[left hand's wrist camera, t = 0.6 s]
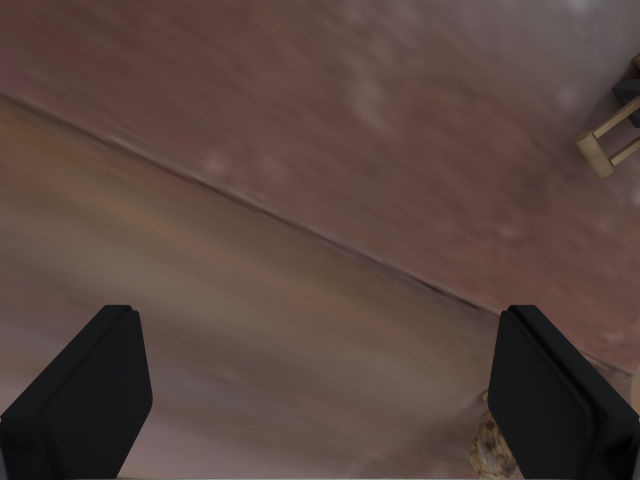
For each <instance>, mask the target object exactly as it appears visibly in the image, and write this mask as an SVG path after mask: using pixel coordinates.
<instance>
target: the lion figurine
mask: <svg viewBox="0 0 640 480" xmlns="http://www.w3.org/2000/svg"><path fill="white" fill-rule="evenodd" d="M487 397H488V392H485V393H484V394H483V395H482V398H483V401H485V402H488V400H487ZM487 418H488V419H489V421H488V422H484V423H482V424H481V426H479V433H478V434H477V435H476V437H475V438H474V440H473V443H471V447H470V454H469V456H470V462H471V463H472V465H473V467H474V469H475V470H476V472H477V474H478V476H479V479H513V477H515V473H516V472H517V471H518V470H519V467H518V465H517V463H516V461H515V459H514V457H513V455H512V453H511V451H510V450H509V448H508V446H507V444H506V442H505V440H504V438H503V436H502V434H501V432H500V430H499V428H498V426H497V424H496V422H495V420H494V418H493V416H492V414H491V412H490V411H489V412H488V413H487Z"/></svg>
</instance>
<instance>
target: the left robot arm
mask: <svg viewBox="0 0 640 480" xmlns="http://www.w3.org/2000/svg"><path fill="white" fill-rule="evenodd" d="M152 400H153V397H152V389H151V383H150V377H149V371H148V365H147V358H146V352H145V346H144V340H143V334H142V327H141V321H140V316H139V313H138V311H133V309H132V308H131V306H130V305H105V306H104V307H103V308H102V309H101V310H100V311H99V312H98V313H97V314H96V315H95V316H94V317H93V318H92V320H91V321H90V322H89V323H88V324H87V325H86V326H85V327H84V328H83V329H82V330H81V331H80V332H79V333H78V334H77V335H76V337H75V338H74V339H73V340H72V341H71V342H70V343H69V344H68V345H67V346H66V347H65V348H64V349H63V350H62V351H61V352H60V353H59V355H58V356H57V357H56V358H55V359H54V360H53V361H52V362H51V363H50V364H49V365H48V366H47V367H46V368H45V369H44V370H43V372H42V373H41V374H40V375H39V376H38V377H37V378H36V379H35V380H34V381H33V382H32V383H31V384H30V385H29V386H28V387H27V388H26V390H25V391H24V392H23V393H22V394H21V395H20V396H19V397H18V398H17V399H16V400H15V401H14V402H13V403H12V404H11V405H10V407H9V408H8V409H7V410H6V411H5V412H4V413H3V414H2V415H1V416H0V417H1V420H2V421H1V422H0V480H640V422H639V421H638V420H639V417H640V416H639V415H638V414H637V413H636V412H635V411H634V410H633V409H632V408H631V407H630V405H629V404H628V403H627V402H626V401H625V400H624V399H623V398H622V397H621V396H620V395H619V394H618V393H617V392H616V391H615V390H614V388H613V387H612V386H611V385H610V384H609V383H608V382H607V381H606V380H605V379H604V378H603V377H602V376H601V375H600V374H599V373H598V372H597V370H596V369H595V368H594V367H593V366H592V365H591V364H590V363H589V362H588V361H587V360H586V359H585V358H584V357H583V356H582V355H581V353H580V352H579V351H578V350H577V349H576V348H575V347H574V346H573V345H572V344H571V343H570V342H569V341H568V340H567V339H566V338H565V337H564V335H563V334H562V333H561V332H560V331H559V330H558V329H557V328H556V327H555V326H554V325H553V324H552V323H551V322H550V321H549V320H548V318H547V317H546V316H545V315H544V314H543V313H542V312H541V311H540V310H539V309H538V308H537V307H536V306H535V305H510V306H509V308H508V309H507V311H502V313H501V316H500V321H499V327H498V334H497V340H496V346H495V352H494V358H493V365H492V371H491V377H490V383H489V389H488V397H487V400H488V407H489V410H490V412H491V414H492V416H493V418H494V420H495V422H496V424H497V426H498V428H499V430H500V432H501V434H502V436H503V438H504V440H505V442H506V444H507V446H508V448H509V450H510V451H511V453H512V455H513V457H514V459H515V461H516V463H517V465H518V467H519V469H520V471H521V473H522V475H523V477H524V479H116V477H117V475H118V473H119V471H120V469H121V467H122V465H123V463H124V461H125V459H126V457H127V455H128V453H129V451H130V450H131V448H132V446H133V444H134V442H135V440H136V438H137V436H138V434H139V432H140V430H141V428H142V426H143V424H144V422H145V420H146V418H147V416H148V414H149V412H150V410H151V407H152Z"/></svg>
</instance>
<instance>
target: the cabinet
mask: <svg viewBox="0 0 640 480" xmlns="http://www.w3.org/2000/svg"><path fill="white" fill-rule="evenodd" d="M633 60H634V62H635V64H636V66H637V67H638V69H639V71H640V54H638V55H637V56H636V57H634V58H633Z"/></svg>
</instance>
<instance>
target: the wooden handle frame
mask: <svg viewBox="0 0 640 480" xmlns="http://www.w3.org/2000/svg"><path fill="white" fill-rule="evenodd" d="M612 90H613V92H614V93H615V95H616V97H617V98H618V100H619V102H620V104H621V105H622V107H623V108H621V109H620V110H619V111H617V112H616V113H614V114H613V115H612V116H610V117H609V118H608V119H606V120H605V121H604V122H602V123H601V124H600V125H598V126H597V127H596V128H594V129H593V130H592V131H585V132H583V133H581V134H579V135H578V136H576V137H575V138H574V142H575V144H576V146H577V147H578V149H579V150H580V152H581V153H582V155H583V156H584V158H585V159H586V161H587V163H588V164H589V166H590V167H591V169H592V170H593V172H594V173H595V175H596V176H597V178H605V177H607V176H609V175H611V174H612V173H613V172H614V168H613V166H615V165H617V164H618V163H619V162H621V161H622V160H624V159H625V158H626V157H628V156H629V155H631V154H632V153H634V152H635V151H636V150H638V149H639V148H640V136H639V137H637V138H636V139H634V140H633V141H632V142H630V143H629V144H627V145H626V146H625V147H623V148H622V149H621V150H619V151H618V152H616V153H615V154H614V155H612V156H611V157H609V158H607V157H606V155H605V153H604V152H603V150H602V149H601V147H600V146H599V144H598V142H597V141H596V139H597V138H599V137H600V136H601V135H603V134H604V133H605V132H607V131H608V130H609V129H611V128H612V127H614V126H615V125H616V124H618V123H619V122H620V121H622V120H623V119H624V118H626V117H627V116H628V117H629V119H630V120H631V122H632V124H633V125H634V127H636V128H640V79H623V80H622V81H621V82H620V83H618V84H617V85H616V86H614V87H613V88H612Z"/></svg>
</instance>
